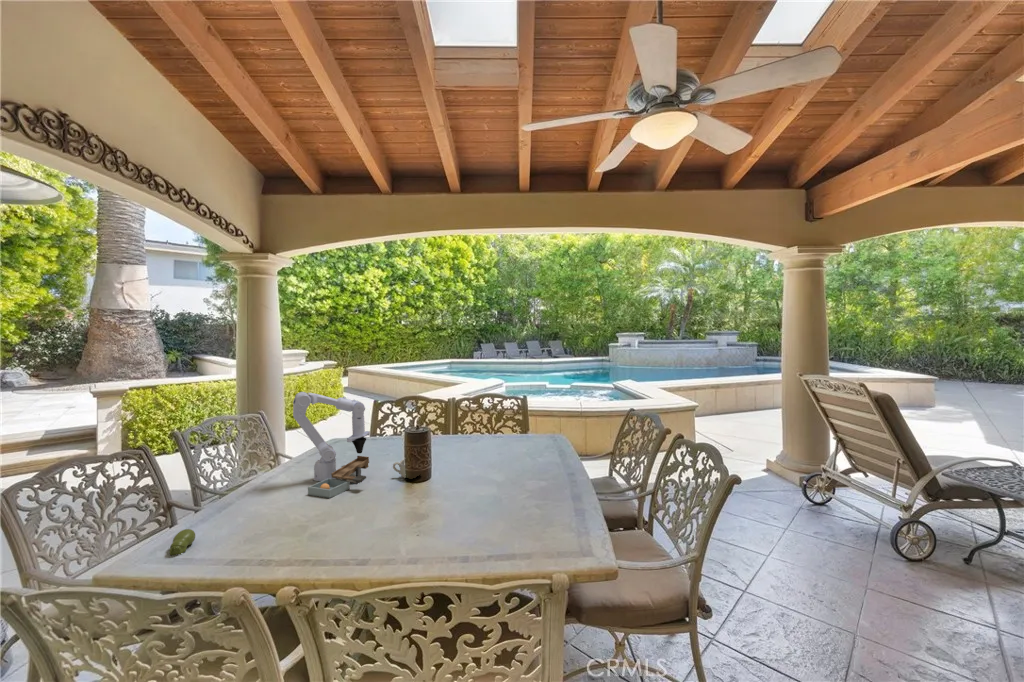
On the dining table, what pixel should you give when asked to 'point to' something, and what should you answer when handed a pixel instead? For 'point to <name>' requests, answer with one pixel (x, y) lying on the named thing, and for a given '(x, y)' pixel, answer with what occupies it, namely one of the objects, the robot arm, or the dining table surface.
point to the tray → (334, 490)
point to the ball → (325, 486)
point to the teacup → (402, 468)
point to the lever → (352, 469)
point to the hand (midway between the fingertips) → (359, 453)
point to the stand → (358, 472)
